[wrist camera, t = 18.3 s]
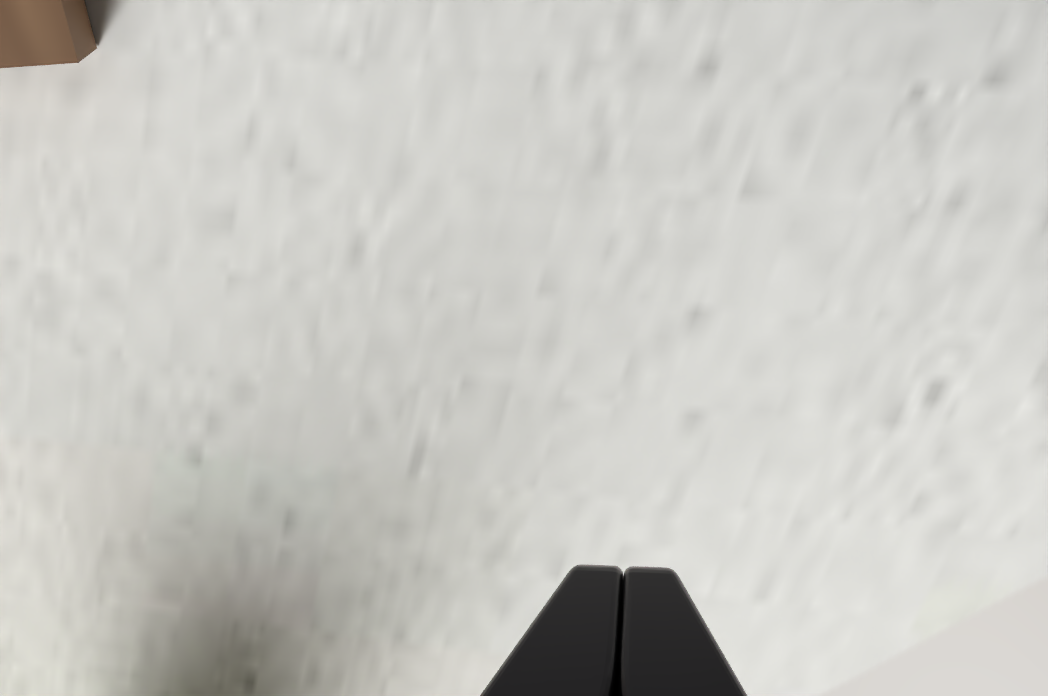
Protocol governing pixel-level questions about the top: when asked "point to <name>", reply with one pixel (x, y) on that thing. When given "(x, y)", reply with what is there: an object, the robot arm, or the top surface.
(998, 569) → the top surface
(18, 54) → the tile
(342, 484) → the top surface
